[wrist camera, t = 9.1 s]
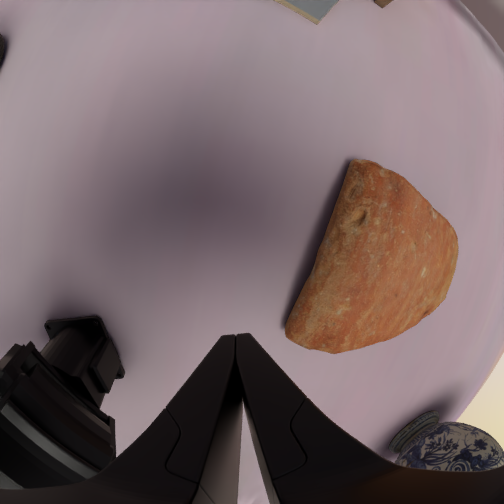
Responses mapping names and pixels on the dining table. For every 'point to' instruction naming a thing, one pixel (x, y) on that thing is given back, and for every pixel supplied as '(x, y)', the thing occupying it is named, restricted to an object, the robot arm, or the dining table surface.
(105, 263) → the dining table surface
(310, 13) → the cover
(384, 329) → the brown rounded piece
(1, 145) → the dining table surface
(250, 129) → the dining table surface
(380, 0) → the wooden toy bench
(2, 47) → the cola bottle
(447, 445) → the decorative vase
